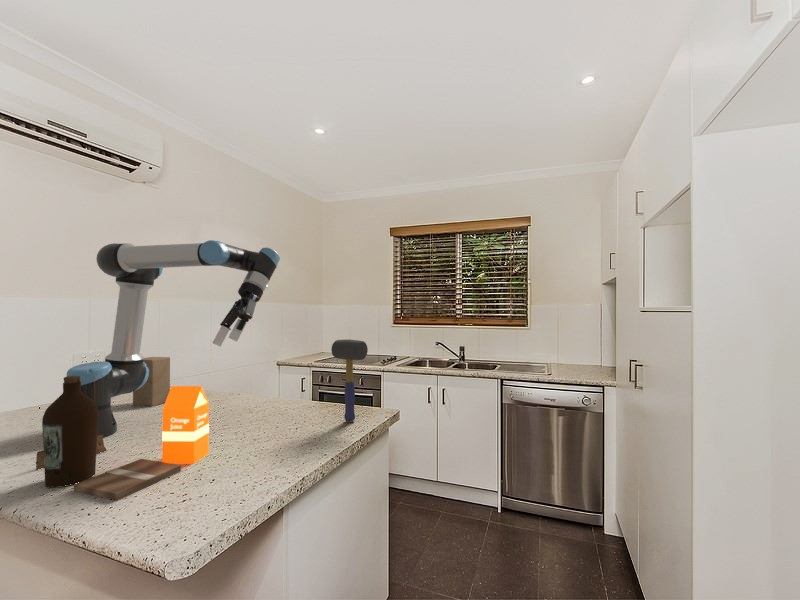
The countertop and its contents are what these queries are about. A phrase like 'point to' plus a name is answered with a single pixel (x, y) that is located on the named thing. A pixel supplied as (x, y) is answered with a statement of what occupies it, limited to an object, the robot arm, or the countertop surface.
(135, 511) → the countertop surface
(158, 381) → the wooden block
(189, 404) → the orange juice
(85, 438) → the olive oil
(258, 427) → the countertop surface
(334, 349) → the rubber mallet
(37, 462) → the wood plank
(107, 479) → the board
